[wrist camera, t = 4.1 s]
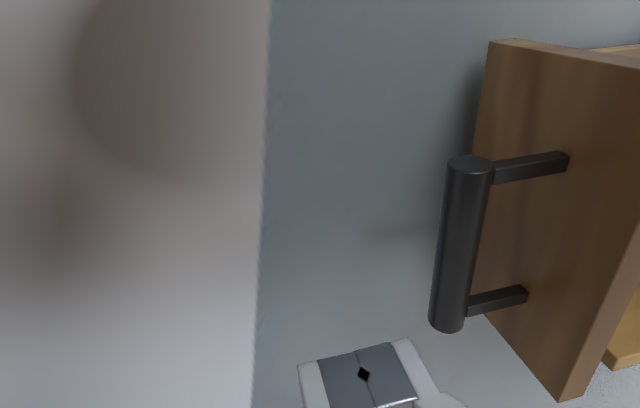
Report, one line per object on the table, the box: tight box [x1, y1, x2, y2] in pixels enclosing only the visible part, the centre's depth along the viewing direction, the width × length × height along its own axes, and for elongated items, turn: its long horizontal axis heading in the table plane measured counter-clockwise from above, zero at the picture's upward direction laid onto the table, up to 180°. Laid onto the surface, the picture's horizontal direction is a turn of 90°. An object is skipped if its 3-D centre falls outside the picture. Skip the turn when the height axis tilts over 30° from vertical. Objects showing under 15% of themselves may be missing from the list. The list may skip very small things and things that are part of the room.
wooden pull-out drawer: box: [428, 38, 640, 403], centre depth 16 cm, size 18×12×8 cm
